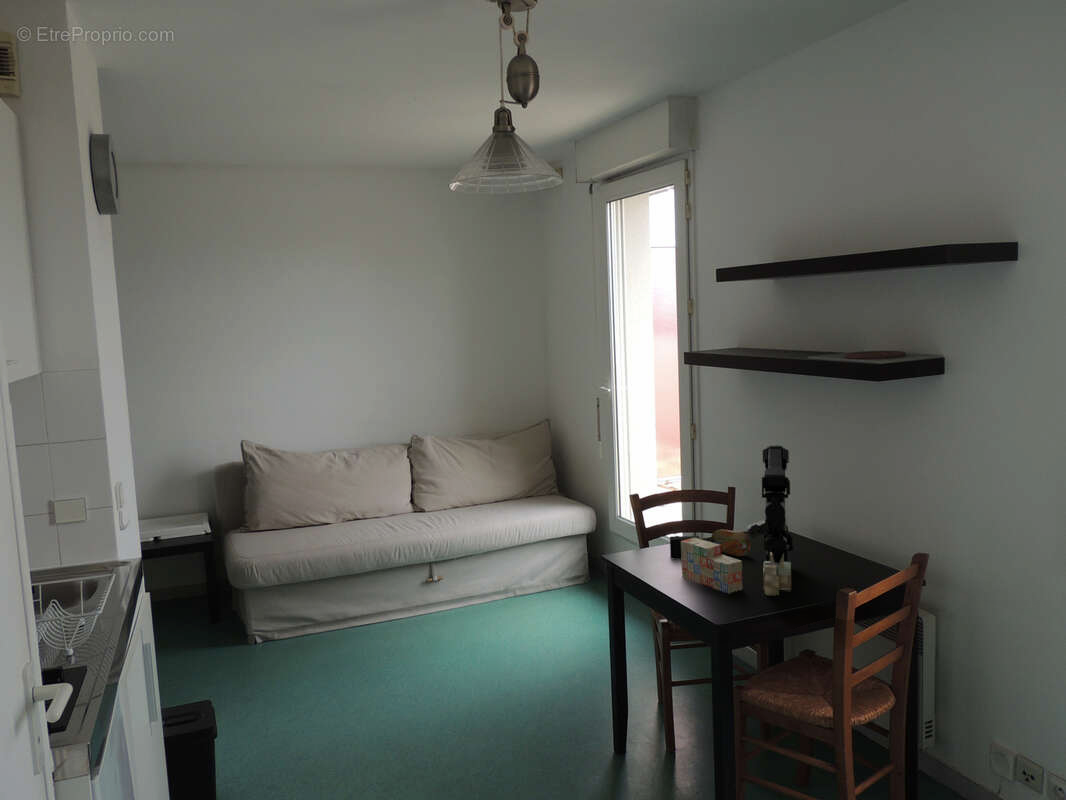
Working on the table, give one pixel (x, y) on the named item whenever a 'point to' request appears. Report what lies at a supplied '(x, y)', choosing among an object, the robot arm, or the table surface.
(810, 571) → the table surface
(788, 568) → the plate with block handle
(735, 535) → the tin
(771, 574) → the wooden mallet
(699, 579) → the stack of blocks
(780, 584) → the toolbox
